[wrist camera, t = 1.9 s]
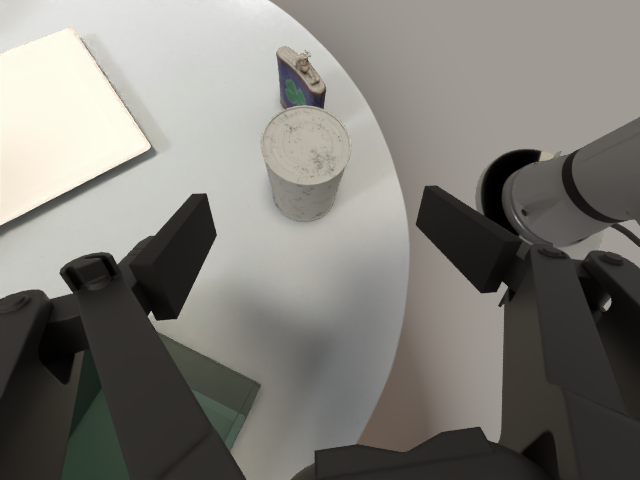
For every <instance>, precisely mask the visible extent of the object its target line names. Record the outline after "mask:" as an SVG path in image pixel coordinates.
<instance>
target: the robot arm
mask: <svg viewBox="0 0 640 480" xmlns="http://www.w3.org/2000/svg"><path fill="white" fill-rule="evenodd" d="M560 153H561V151H560V152H558V153H556V154H555V156H554V159H551V160H548V161H540V162H535V163H532V164H529V165H526V166H524V167H522V168H521V169H519V170H517V171H516V172H514V173H513V174H512V175H510V176H509V178H508V179H507V180H506V182H505V184H504V187H503V190H502V205H503V209H504V212H505V215H506V217H507V219H508V221H509V223H510V224H511V225H512V227H513V228H514V229H515V230H516V231H517V232H518V234H520V235H521V236H522V237H523V238H525V239H526V240H527V241H529V242H531V243H533V244H534V245H530V244H528V243H527V242H525V241H523V240H522V239H520V238H519V237H517V236H515V235H514V234H512V233H510V232H509V231H508V230H506V229H504V228H503V227H501V226H500V225H498V224H497V223H495V222H493V221H491V220H490V219H488V218H487V217H485V216H483V215H482V214H480V213H479V212H477V211H476V210H474V209H472V208H471V207H469V206H467V205H466V204H465V203H463V202H461V201H460V200H458V199H457V198H455V197H454V196H452V195H451V194H449V193H447V192H446V191H444V190H443V189H441V188H440V187H438V186H425V189H424V192H423V197H422V201H421V205H420V209H419V213H418V218H417V222H416V226H417V227H418V228H419V229H420V230H421V231H422V232H423V233H424V234H425V235H426V236H427V237H428V238H429V239H430V240H431V242H432V243H434V245H435V246H436V247H437V248H438V249H439V250H440V251H441V252H442V253H443V254H444V255H445V256H446V257H447V258H448V259H449V260H450V261H451V262H452V263H453V265H454V266H455V267H456V268H457V269H458V270H459V271H460V272H461V273H462V274H463V275H464V276H465V277H466V278H467V279H468V280H469V281H470V282H471V283H472V284H473V285H474V286H475V287H476V289H477V290H478V291H479V292H480V293H491V292H497V290H498V288H499V286H500V284H501V282H502V281H503V282H504V283H505V284H506V285H507V286H508V289H507V291H506V293H505V294H504V296H503V298H502V300H501V302H500V303H499V305H498V306H499V307H501V306H502V305H503V304H505V305H504V345H503V346H504V347H503V349H504V350H503V386H502V387H503V388H502V427H501V436H500V440H499V442H498V443H494V442H491V441H488V440H487V438H486V436H485V435H484V433H483V431H482V429H481V428H480V427H474V428H467V429H460V430H454V431H447V432H441V433H440V434H438V435H436V436H434V437H432V438H431V439H429V440H427V441H425V442H424V443H422V444H420V445H418V446H417V447H415V448H413V449H411V450H410V451H407V452H397V451H392V450H386V449H380V448H374V447H369V446H364V445H358V444H357V445H350V446H343V447H336V448H329V449H322V450H315V463H314V464H312V465H310V466H308V467H306V468H304V469H303V470H302V471H300V472H299V473H298V474H296V475H295V476H294V477H293V478H292V479H291V480H640V268H638V267H637V266H636V265H635V264H634V263H632V262H630V261H629V260H628V259H626V258H623V257H621V256H620V255H618V254H614V253H612V252H605V251H598V250H593V251H590V252H589V253H588V255H587V256H586V257H585V259H584V260H578V259H571V258H570V256H569V255H568V254H567V253H565V252H563V251H562V250H559V249H557V248H562V247H567V246H572V245H576V244H578V243H580V242H582V241H584V240H585V239H587V238H588V237H590V236H591V235H593V234H595V233H598V232H600V231H602V230H604V229H605V228H607V227H609V226H610V227H612V228H615V229H616V230H618V231H620V232H621V233H623V234H624V235H626V236H627V237H628V238H629V239H630V240H632V241H633V242H634V243H635V244H636V245H637V246H639V247H640V239H639V238H638V237H637V236H635V235H634V234H633V233H632V232H631V231H629V230H628V229H626V228H625V227H623V226H621V225H619V224H617V223H619V222H624V221H628V220H633V219H635V220H636V221H637V223H638V224H639V225H640V117H639V118H637V119H635V120H634V121H632V122H630V123H628V124H626V125H624V126H622V127H620V128H618V129H616V130H614V131H613V132H611V133H609V134H607V135H605V136H603V137H601V138H599V139H597V140H596V141H593V142H592V143H590V144H588V145H586V146H584V147H582V148H580V149H578V150H576V151H575V152H573V153H571V154H568V155H564V156H561V157H559V156H560ZM216 236H217V234H216V230H215V226H214V222H213V218H212V214H211V210H210V206H209V202H208V198H207V194H192V195H191V196H190V197H189V198H188V199H187V200H186V202H185V203H184V204H183V205H182V206H181V207H180V208H179V209H178V210H177V212H176V213H175V214H174V215H173V216H172V217H171V218H170V219H169V221H168V222H167V223H166V224H165V225H164V226H163V227H162V228H161V229H160V231H159V232H158V233H157V234H156V235H155V236H149V237H147V238H145V239H144V240H142V241H140V242H139V243H138V244H137V245H136V246H135V247H134V248H133V250H131V251H130V252H129V253H128V254H127V256H125V257H124V258H123V259H122V261H121V262H120V263H119V264H118V265H117V263H116V262H115V260H114V258H113V256H112V255H111V254H109V253H104V252H100V253H92V254H89V255H85V256H82V257H79V258H77V259H74V260H72V261H71V262H69V263H67V264H66V265H65V266H64V267H63V268H61V270H60V273H59V274H60V275H61V276H62V278H63V279H64V281H65V282H66V283H67V285H68V286H69V288H70V289H71V291H72V292H73V294H69V295H65V296H61V297H57V298H53V299H49V298H48V297H47V295H46V294H45V293H44V292H43V291H41V290H27V291H22V292H19V293H16V294H11V295H8V296H6V297H5V298H2V299H0V480H61V478H62V472H63V467H64V461H65V456H66V450H67V444H68V439H69V433H70V428H71V422H72V417H73V411H74V405H75V400H76V394H77V389H78V383H79V377H80V372H81V366H82V361H83V355H84V350H88V349H91V352H92V356H93V359H94V362H95V366H96V369H97V372H98V375H99V379H100V382H101V385H102V389H103V392H104V395H105V398H106V402H107V405H108V408H109V412H110V415H111V418H112V421H113V425H114V428H115V431H116V435H117V438H118V441H119V444H120V448H121V451H122V454H123V458H124V461H125V464H126V467H127V471H128V474H129V477H130V480H246V478H245V476H244V475H243V473H242V471H241V470H240V468H239V466H238V465H237V463H236V461H235V460H234V458H233V456H232V455H231V453H230V451H229V450H228V448H227V446H226V445H225V443H224V441H223V440H222V438H221V437H220V435H219V433H218V432H217V430H216V429H215V428H214V427H213V425H212V424H211V422H210V421H209V419H208V417H207V416H206V414H205V412H204V411H203V409H202V407H201V406H200V404H199V402H198V401H197V399H196V397H195V395H194V394H193V392H192V390H191V389H190V387H189V385H188V384H187V382H186V380H185V379H184V377H183V375H182V374H181V372H180V370H179V369H178V367H177V365H176V364H175V362H174V360H173V359H172V357H171V355H170V354H169V352H168V350H167V349H166V347H165V345H164V343H163V342H162V340H161V338H160V337H159V335H158V333H157V332H156V330H155V328H154V327H153V325H152V323H151V322H150V320H149V318H148V317H147V316H148V315H149V313H150V311H152V313H153V315H154V317H155V319H156V321H158V320H170V319H177V318H178V316H179V313H180V311H181V309H182V307H183V305H184V303H185V301H186V299H187V297H188V295H189V292H190V290H191V288H192V286H193V284H194V282H195V280H196V278H197V276H198V274H199V271H200V269H201V267H202V265H203V263H204V261H205V259H206V257H207V255H208V253H209V250H210V248H211V246H212V244H213V242H214V240H215V238H216ZM610 298H611V301H612V302H611V306H610V308H609V309H608V310H607V311H606V310H605V309H604V308H603V306H604V305H605V304H606V302H607V301H608V300H609V299H610Z"/></svg>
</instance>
